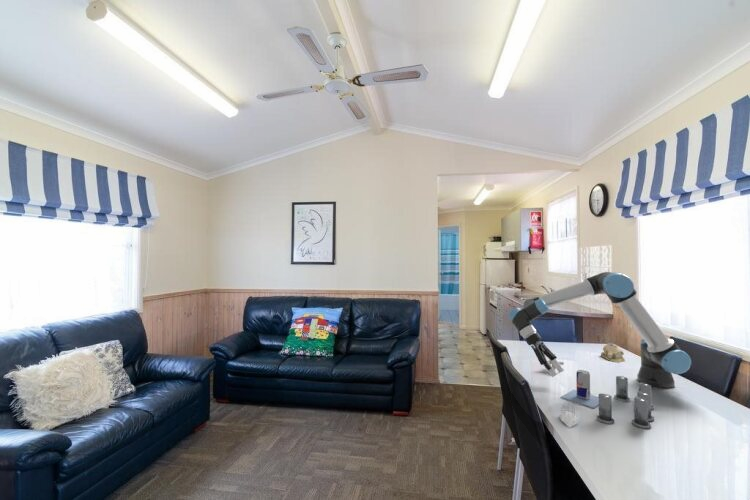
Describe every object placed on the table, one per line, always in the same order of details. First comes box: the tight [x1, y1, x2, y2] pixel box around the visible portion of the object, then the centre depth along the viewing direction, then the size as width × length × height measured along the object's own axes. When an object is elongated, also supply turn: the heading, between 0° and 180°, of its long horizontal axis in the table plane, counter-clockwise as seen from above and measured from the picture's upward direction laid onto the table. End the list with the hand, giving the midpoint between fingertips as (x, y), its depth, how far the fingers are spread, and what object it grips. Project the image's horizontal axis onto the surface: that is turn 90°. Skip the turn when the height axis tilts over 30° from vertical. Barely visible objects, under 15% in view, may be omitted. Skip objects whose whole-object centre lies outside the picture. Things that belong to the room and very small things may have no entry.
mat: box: [560, 389, 599, 409], centre depth 158 cm, size 14×14×1 cm
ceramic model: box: [600, 342, 626, 363], centre depth 218 cm, size 14×11×10 cm
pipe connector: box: [547, 353, 565, 373], centre depth 195 cm, size 10×10×10 cm
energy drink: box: [575, 369, 591, 400], centre depth 158 cm, size 5×5×12 cm
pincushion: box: [559, 406, 578, 429], centre depth 137 cm, size 12×6×6 cm, turn 155°
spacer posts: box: [596, 375, 655, 430], centre depth 143 cm, size 19×35×10 cm, turn 127°
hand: (558, 373), depth 167 cm, fingers open, 13 cm apart
